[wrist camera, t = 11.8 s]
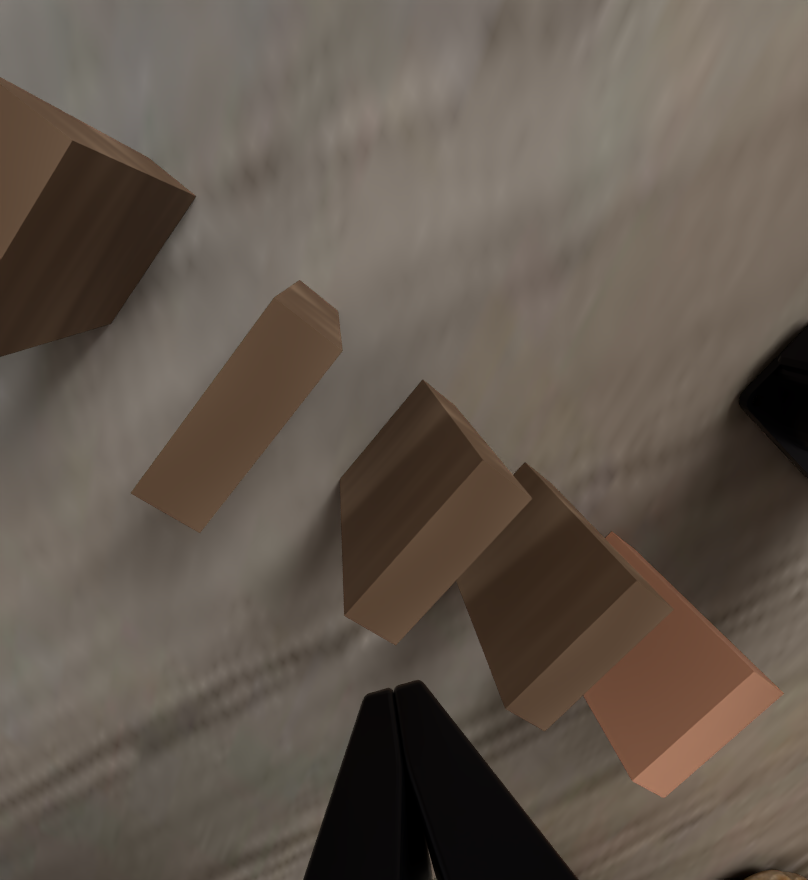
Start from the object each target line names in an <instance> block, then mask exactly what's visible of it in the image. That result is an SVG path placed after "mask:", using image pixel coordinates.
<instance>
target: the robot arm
mask: <svg viewBox="0 0 808 880" xmlns="http://www.w3.org/2000/svg"><path fill="white" fill-rule="evenodd" d="M756 396H757V397H756ZM755 397H756V400H755V402H753V399H754V398H755ZM752 402H753V403H752ZM739 404H740V406H741V408H742V409H743V410H744V411H745V412H746V413H747V414H748V415H749V416H750V417H751V418H752V420H753V421H754V422H755V423H756V424H757V425H758V426H759V427H760V428H761V429H762V430H763V431H764V432H765V433H766V434H767V436H768V437H769V438H770V439H771V440H772V441H773V442H774V443H775V444H776V445H777V446H778V447H779V448H780V449H781V451H782V452H783V453H784V454H785V455H786V456H787V457H788V458H789V459H790V460H791V461H792V462H793V463H794V464H795V465H796V467H797V468H798V469H799V470H800V471H801V472H802V473H803V474H804V475H805V476H806V477H807V478H808V326H807V327H806V328H805V329H804V330H803V331H802V332H801V333H800V334H799V335H798V336H797V337H796V338H795V339H794V340H793V341H792V342H791V343H790V345H789V346H788V347H787V348H786V349H785V350H784V351H783V352H782V353H781V354H780V355H779V356H778V357H777V358H776V359H775V360H774V361H773V362H772V363H771V364H770V365H769V366H768V367H767V368H766V369H765V370H764V371H763V372H762V373H761V374H760V375H759V376H758V377H757V378H756V379H755V380H754V381H753V382H752V383H751V384H750V385H749V386H748V387H747V388H746V389H745V390H744V391H743V393H742V394H741V396H740V399H739ZM428 850H429V851H428ZM429 854H430V857H431V861H432V864H433V868H434V871H435V875H436V879H437V880H578V878H577V877H576V876H575V875H574V873H573V872H572V871H571V870H570V868H569V867H568V866H567V864H566V863H565V862H564V861H563V859H562V858H561V857H560V856H559V854H558V853H557V852H556V851H555V849H554V848H553V847H552V845H551V844H550V843H549V842H548V840H547V839H546V838H545V837H544V835H543V834H542V833H541V831H540V830H539V829H538V828H537V826H536V825H535V824H534V823H533V821H532V820H531V819H530V817H529V816H528V815H527V814H526V812H525V811H524V810H523V809H522V807H521V806H520V805H519V803H518V802H517V801H516V800H515V798H514V797H513V796H512V795H511V793H510V792H509V791H508V789H507V788H506V787H505V786H504V784H503V783H502V782H501V781H500V779H499V778H498V777H497V776H496V774H495V773H494V772H493V770H492V769H491V768H490V767H489V765H488V764H487V763H486V762H485V760H484V759H483V758H482V756H481V755H480V754H479V753H478V751H477V750H476V749H475V748H474V746H473V745H472V744H471V742H470V741H469V740H468V739H467V737H466V736H465V735H464V734H463V732H462V731H461V730H460V728H459V727H458V726H457V725H456V723H455V722H454V721H453V720H452V718H451V717H450V716H449V714H448V713H447V712H446V711H445V709H444V708H443V707H442V706H441V704H440V703H439V702H438V700H437V699H436V698H435V697H434V695H433V694H432V693H431V692H430V690H429V689H428V688H427V687H426V685H425V684H424V683H423V682H422V681H420V680H415V681H412V682H408V683H405V684H401V685H398V686H396V687H395V689H394V691H393V690H392V689H390V688H387V689H383V690H379V691H376V692H372V693H369V694H367V695H366V696H365V697H364V699H363V701H362V704H361V707H360V710H359V713H358V716H357V719H356V722H355V725H354V728H353V731H352V734H351V737H350V740H349V743H348V746H347V749H346V752H345V755H344V758H343V761H342V764H341V767H340V770H339V773H338V776H337V779H336V782H335V785H334V788H333V791H332V794H331V797H330V800H329V803H328V806H327V809H326V812H325V815H324V818H323V822H322V825H321V828H320V831H319V834H318V837H317V840H316V843H315V846H314V849H313V852H312V855H311V858H310V861H309V864H308V867H307V870H306V873H305V876H304V879H303V880H433V879H432V871H431V863H430V857H429Z"/></svg>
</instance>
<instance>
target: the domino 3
mask: <svg viewBox="0 0 808 880" xmlns="http://www.w3.org/2000/svg"><path fill="white" fill-rule="evenodd" d="M340 499H341V530H342V561H343V592H344V616H346V617H347V618H349V619H351V620H353V621H354V622H356V623H358V624H359V625H361V626H363V627H365V628H366V629H368V630H370V631H372V632H373V633H375V634H377V635H379V636H380V637H382V638H384V639H385V640H387V641H389V642H391V643H392V644H394V645H396V644H397V643H398V642H399V641H400V640H401V639H402V638H403V637H404V636H405V635H406V634H407V633H408V632H409V630H410V629H411V628H412V627H413V626H414V625H415V624H416V623H417V622H418V621H419V620H420V619H421V618H422V617H423V615H424V614H425V613H426V612H427V611H428V610H429V609H430V608H431V607H432V606H433V605H434V604H435V603H436V601H437V600H438V599H439V598H440V597H441V596H442V595H443V594H444V593H445V592H446V591H447V590H448V589H449V588H450V586H451V585H452V584H453V583H454V582H455V581H456V580H457V579H458V578H459V577H460V576H461V575H462V574H463V572H464V571H465V570H466V569H467V568H468V567H469V566H470V565H471V564H472V563H473V562H474V561H475V560H476V559H477V557H478V556H479V555H480V554H481V553H482V552H483V551H484V550H485V549H486V548H487V547H488V546H489V545H490V544H491V542H492V541H493V540H494V539H495V538H496V537H497V536H498V535H499V534H500V533H501V532H502V531H503V530H504V528H505V527H506V526H507V525H508V524H509V523H510V522H511V521H512V520H513V519H514V518H515V517H516V516H517V515H518V513H519V512H520V511H521V510H522V509H523V508H524V507H525V506H526V505H527V504H528V503H529V502H530V501H531V499H532V497H531V496H530V495H529V494H528V493H527V491H526V490H525V489H524V488H523V487H522V485H521V484H520V483H519V482H518V481H517V479H516V478H515V477H514V476H513V475H512V473H511V472H510V471H509V470H508V469H507V467H506V466H505V465H504V464H503V463H502V461H501V460H500V459H499V458H498V457H497V455H496V454H495V453H494V452H493V451H492V449H491V448H490V447H489V446H488V445H487V443H486V442H485V441H484V440H483V439H482V438H481V436H480V435H479V434H478V433H477V432H476V430H475V429H474V428H473V427H472V426H471V424H470V423H469V422H468V421H467V420H466V418H465V417H464V416H463V415H462V414H461V412H460V411H459V410H458V409H457V408H456V406H455V405H454V404H452V403H451V402H450V401H449V400H447V399H446V398H445V397H444V396H443V395H441V394H440V393H439V392H438V391H436V390H435V389H434V388H433V387H431V386H430V385H429V384H428V383H426V382H425V381H424V380H422V381H421V382H420V384H419V385H418V386H417V387H416V388H415V390H414V391H413V392H412V393H411V394H410V396H409V397H408V398H407V399H406V400H405V402H404V403H403V404H402V405H401V406H400V408H399V409H398V410H397V411H396V412H395V414H394V415H393V416H392V417H391V418H390V420H389V421H388V422H387V423H386V424H385V426H384V427H383V428H382V429H381V430H380V432H379V433H378V434H377V435H376V437H375V438H374V439H373V440H372V441H371V443H370V444H369V445H368V446H367V447H366V449H365V450H364V451H363V452H362V453H361V455H360V456H359V457H358V458H357V459H356V461H355V462H354V463H353V464H352V465H351V467H350V468H349V469H348V470H347V471H346V473H345V474H344V475H343V476H342V477H341V479H340Z"/></svg>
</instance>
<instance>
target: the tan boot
mask: <svg viewBox="0 0 808 880" xmlns="http://www.w3.org/2000/svg"><path fill="white" fill-rule="evenodd" d="M744 880H807V879H806V878H805V877H802V876H800V875H798V874H795V873H790V872H781V871H779V870H774V869H772V870H766V871H761V872H759V873H756V874H753V875H751V876H749V877H747V878H746V879H744Z"/></svg>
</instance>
